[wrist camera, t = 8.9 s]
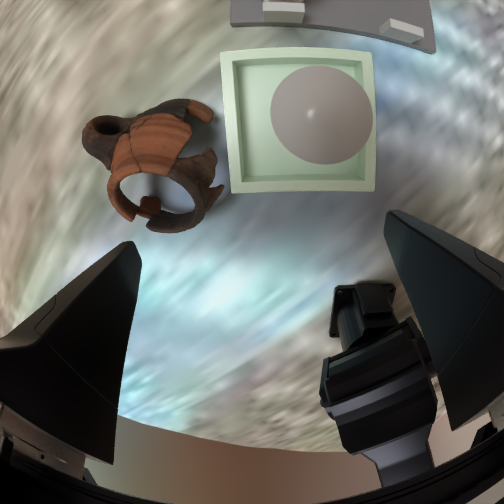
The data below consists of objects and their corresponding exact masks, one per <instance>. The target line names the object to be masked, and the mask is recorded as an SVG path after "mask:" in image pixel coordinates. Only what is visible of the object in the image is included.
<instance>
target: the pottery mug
mask: <svg viewBox="0 0 504 504" xmlns="http://www.w3.org/2000/svg"><path fill="white" fill-rule="evenodd" d="M185 113H189V114H191V115H194V116H195V117H198V118H199V119H201V120H202V121H204V122H205V123H209V122H211V120H212V115H213V111H212V110H211V109H210V108H208V107H207V106H206V105H204V104H201V103H199V102H196V101H193V100H189V99H173V100H169V101H166V102H163V103H161V104H160V105H158V106H156V107H154V108H151V109H149V110H147V111H145V112H143V113H141V114H138V115H137V117H135V118H121V117H118V116H110V115H105V116H98V117H95V118H93V119H92V120H91V121H90V122H89V123H87V124H86V127H85V128H84V129H83V132H82V144H83V147H84V148H85V150H86V151H87V152H88V153H89V154H90V155H92V156H94V157H95V158H97V159H98V160H100V161H101V162H102V163H103V164H104V165H105V166H106V168H107V170H111V173H112V175H111V176H110V179H109V181H108V184H107V192H108V196H109V199H110V202H111V203H112V205H113V207H114V208H115V209H116V211H117V212H118V213H119V214H120V215H122V216H123V217H124V218H125V219H127V220H128V221H130V222H132V221H133V220H134V218H135V216H136V214H138V215H140V216H142V217H144V218H148V219H150V220H149V221H148V222H147V224H146V227H147V228H148V229H149V230H151V231H154V232H160V233H178V232H182V231H186V230H187V229H191V228H193V227H195V226H196V225H197V224H199V223H200V222H201V221H202V220H203V218H204V215H205V212H206V211H208V210H209V209H210V208H211V207H212V205H213V204H214V203H215V201H216V200H217V199H218V197H219V196H220V194H221V193H222V191H223V189H224V185H223V184H221V185H219V186H217V187H213V188H209V186H210V185H211V184H212V183H213V180H214V177H215V166H216V164H217V161H218V159H217V156H216V154H215V152H214V151H213V149H212V148H207V149H206V150H205V151H204V152H203V153H202V154H201V155H199V154H198V155H195V156H191V157H188V158H178V156H179V154H180V153H181V151H182V149H183V147H184V146H185V144H186V143H187V142H188V140H189V139H190V138H191V136H192V129H191V127H190V125H189V124H187V123H185V122H184V119H185ZM141 172H143V173H153V174H158V175H162V176H167V177H169V178H170V179H172V180H174V181H175V182H177V183H179V184H180V185H182V186H183V187H184V188H185V189H186V190H187V191H188V193H189V194H190V195H191V196H192V198H193V200H194V203H195V209H194V210H193V212H189V213H185V214H174V213H170V212H166V211H164V210H161V205H160V200H159V199H158V198H155V197H150V196H143V197H142V198H141V200H140V206H137V205H135V204H134V203H132V202H131V201H130V200H129V199H128V198H127V197H126V196H125V195H124V194H123V193H122V191H121V189H120V182H121V181H122V180H123V179H124V178H125V177H127V176H130V175H132V174H136V173H141Z"/></svg>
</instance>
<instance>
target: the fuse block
mask: <svg viewBox="0 0 504 504" xmlns="http://www.w3.org/2000/svg"><path fill="white" fill-rule="evenodd" d="M230 24H231V26H232V27H245V26H285V27H303V28H315V29H324V30H332V31H339V32H346V33H352V34H357V35H363V36H368V37H372V38H377V39H381V40H385V41H389V42H393V43H397V44H401V45H404V46H407V47H411V48H414V49H417V50H420V51H423V52H426V53H429V54H432V53H436V46H435V36H434V28H433V21H432V15H431V9H430V3H429V0H305V1H304V2H303V3H289V2H262V1H261V0H231V7H230Z"/></svg>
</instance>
